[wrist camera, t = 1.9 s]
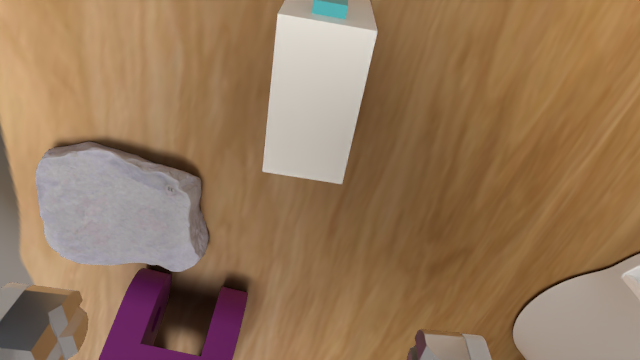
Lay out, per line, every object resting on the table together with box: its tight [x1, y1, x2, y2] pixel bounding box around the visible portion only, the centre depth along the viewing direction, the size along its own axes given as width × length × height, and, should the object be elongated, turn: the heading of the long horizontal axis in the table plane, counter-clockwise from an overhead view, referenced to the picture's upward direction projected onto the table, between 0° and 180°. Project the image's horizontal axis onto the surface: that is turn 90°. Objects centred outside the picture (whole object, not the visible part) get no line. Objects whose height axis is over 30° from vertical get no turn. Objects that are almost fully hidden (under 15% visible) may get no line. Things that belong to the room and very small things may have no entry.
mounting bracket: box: [99, 268, 248, 360], centre depth 41 cm, size 9×8×18 cm
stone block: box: [35, 142, 209, 272], centre depth 33 cm, size 12×5×10 cm
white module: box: [262, 0, 378, 184], centre depth 24 cm, size 4×9×7 cm, turn 171°
